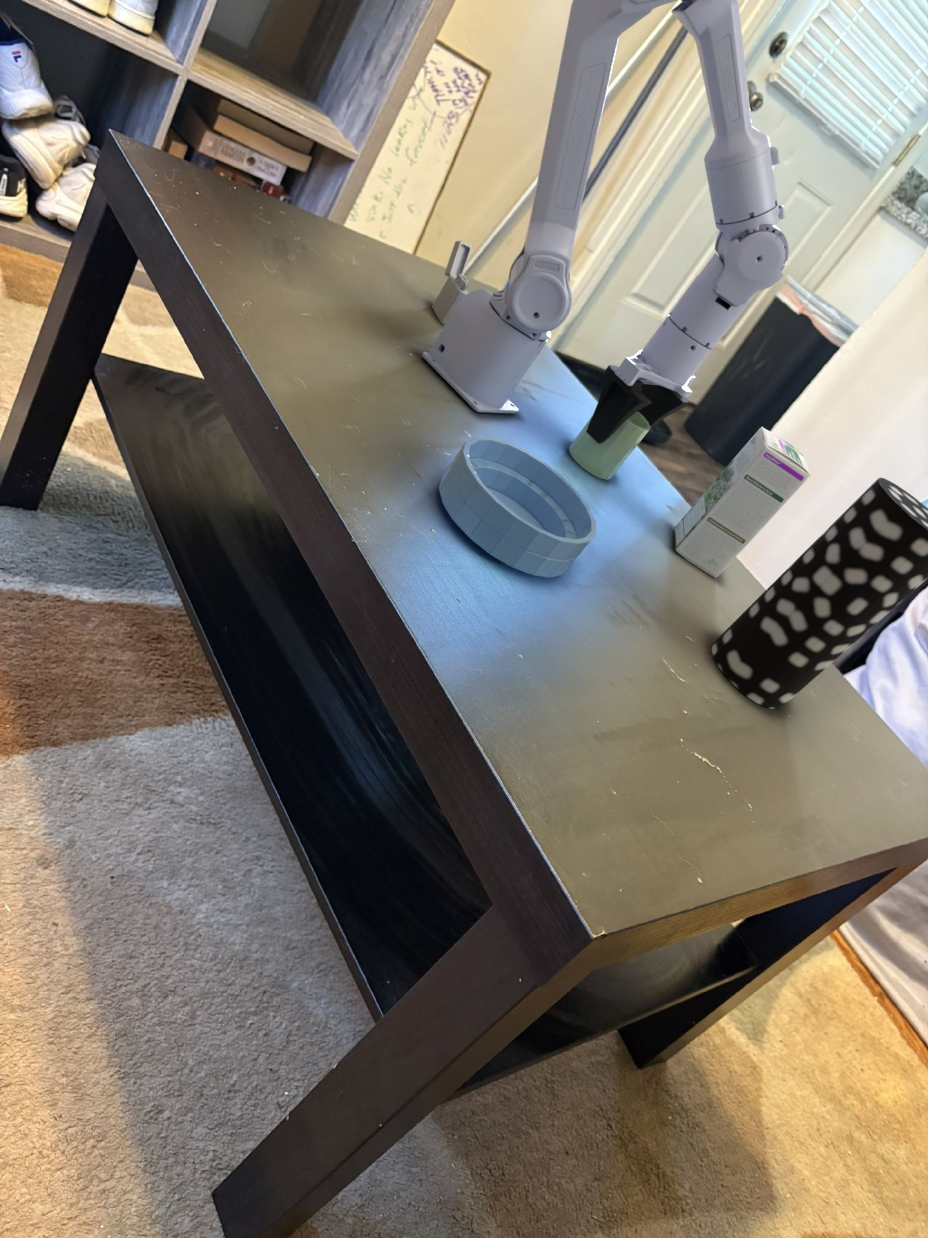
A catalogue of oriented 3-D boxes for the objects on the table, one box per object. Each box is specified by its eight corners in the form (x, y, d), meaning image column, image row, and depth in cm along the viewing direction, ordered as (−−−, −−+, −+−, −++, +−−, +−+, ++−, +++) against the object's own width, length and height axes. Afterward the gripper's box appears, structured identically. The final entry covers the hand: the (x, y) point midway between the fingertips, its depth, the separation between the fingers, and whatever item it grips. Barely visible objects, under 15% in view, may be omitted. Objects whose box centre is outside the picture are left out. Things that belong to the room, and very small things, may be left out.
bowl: (407, 479, 71) (434, 435, 69) (496, 474, 81) (522, 436, 79) (509, 592, 67) (542, 550, 65) (589, 572, 77) (620, 535, 75)
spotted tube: (790, 724, 77) (976, 564, 67) (715, 678, 76) (893, 506, 66) (776, 670, 84) (942, 517, 74) (707, 626, 83) (867, 464, 72)
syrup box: (716, 580, 93) (816, 476, 85) (672, 550, 92) (768, 442, 84) (713, 555, 98) (806, 455, 90) (670, 527, 97) (761, 423, 89)
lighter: (452, 327, 105) (488, 268, 101) (440, 322, 104) (476, 262, 100) (436, 299, 109) (469, 241, 105) (425, 294, 108) (458, 235, 104)
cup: (559, 445, 96) (598, 394, 93) (585, 445, 101) (622, 396, 97) (595, 480, 94) (635, 429, 91) (619, 478, 99) (658, 429, 95)
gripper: (691, 350, 82) (604, 463, 89) (743, 361, 93) (662, 460, 100) (639, 305, 84) (558, 418, 91) (696, 320, 95) (620, 420, 102)
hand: (609, 437), depth 96 cm, fingers open, 7 cm apart
